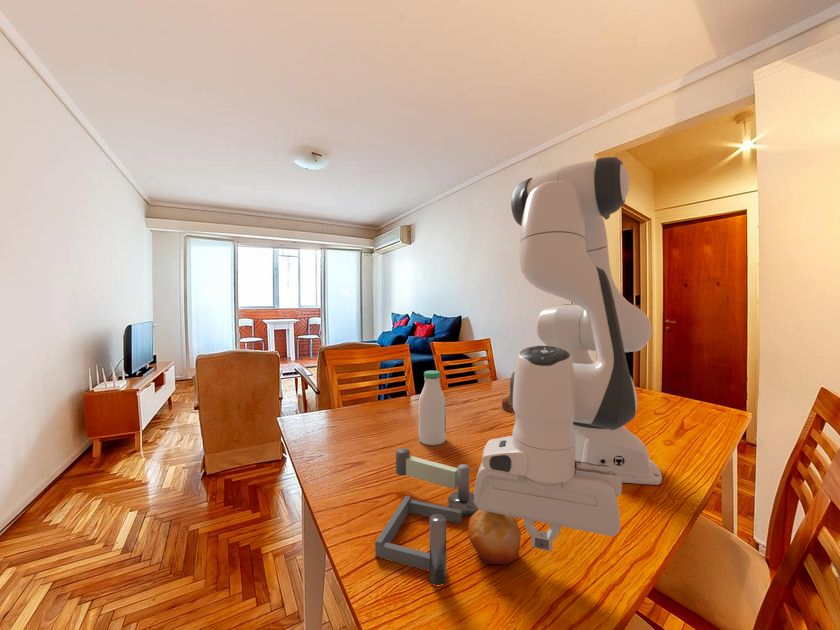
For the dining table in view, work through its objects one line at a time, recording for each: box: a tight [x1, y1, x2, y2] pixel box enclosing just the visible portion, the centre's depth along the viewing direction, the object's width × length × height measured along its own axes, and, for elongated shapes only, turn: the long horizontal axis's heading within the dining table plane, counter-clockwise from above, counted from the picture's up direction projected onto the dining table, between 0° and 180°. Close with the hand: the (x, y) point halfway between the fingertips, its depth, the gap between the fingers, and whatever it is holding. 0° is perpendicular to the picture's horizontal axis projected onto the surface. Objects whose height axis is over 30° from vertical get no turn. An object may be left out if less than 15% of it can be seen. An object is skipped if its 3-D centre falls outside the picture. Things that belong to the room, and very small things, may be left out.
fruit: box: [468, 509, 522, 565], centre depth 53 cm, size 8×8×8 cm
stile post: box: [429, 514, 447, 585], centre depth 48 cm, size 2×2×9 cm
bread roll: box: [501, 391, 514, 413], centre depth 125 cm, size 10×10×8 cm
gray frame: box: [374, 495, 463, 572], centre depth 57 cm, size 11×13×2 cm
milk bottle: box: [418, 370, 447, 446], centre depth 96 cm, size 8×8×20 cm
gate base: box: [447, 490, 478, 518], centre depth 65 cm, size 6×6×2 cm
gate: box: [395, 447, 470, 502], centre depth 69 cm, size 3×17×6 cm, turn 61°
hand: (541, 546), depth 51 cm, fingers closed
